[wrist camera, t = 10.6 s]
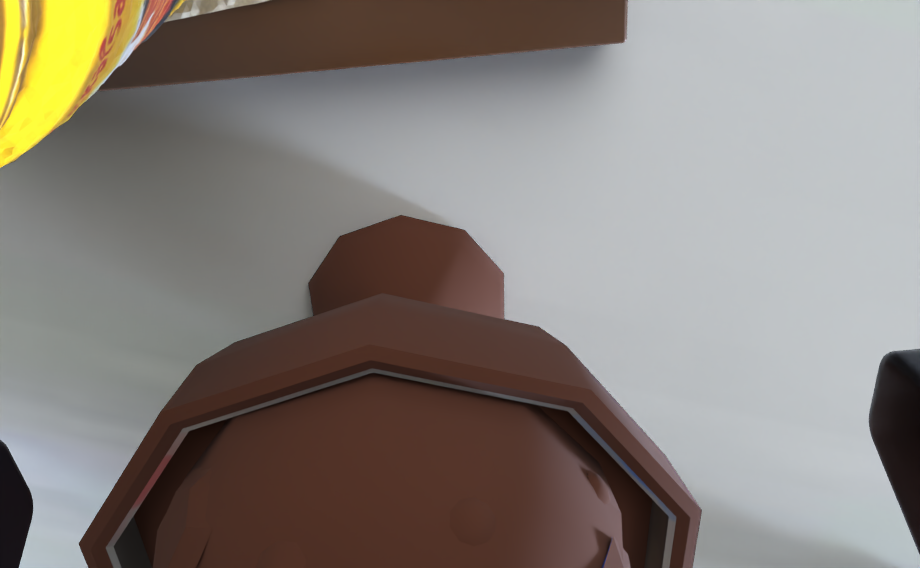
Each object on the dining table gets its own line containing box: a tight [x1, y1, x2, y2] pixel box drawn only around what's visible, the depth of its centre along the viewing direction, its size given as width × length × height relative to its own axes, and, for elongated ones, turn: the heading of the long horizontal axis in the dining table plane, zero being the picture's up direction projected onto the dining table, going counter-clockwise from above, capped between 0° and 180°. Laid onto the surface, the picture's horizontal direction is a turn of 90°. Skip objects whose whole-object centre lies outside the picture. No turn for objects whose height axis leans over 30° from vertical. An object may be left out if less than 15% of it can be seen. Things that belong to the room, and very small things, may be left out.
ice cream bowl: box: [79, 215, 702, 568], centre depth 17 cm, size 11×11×15 cm
